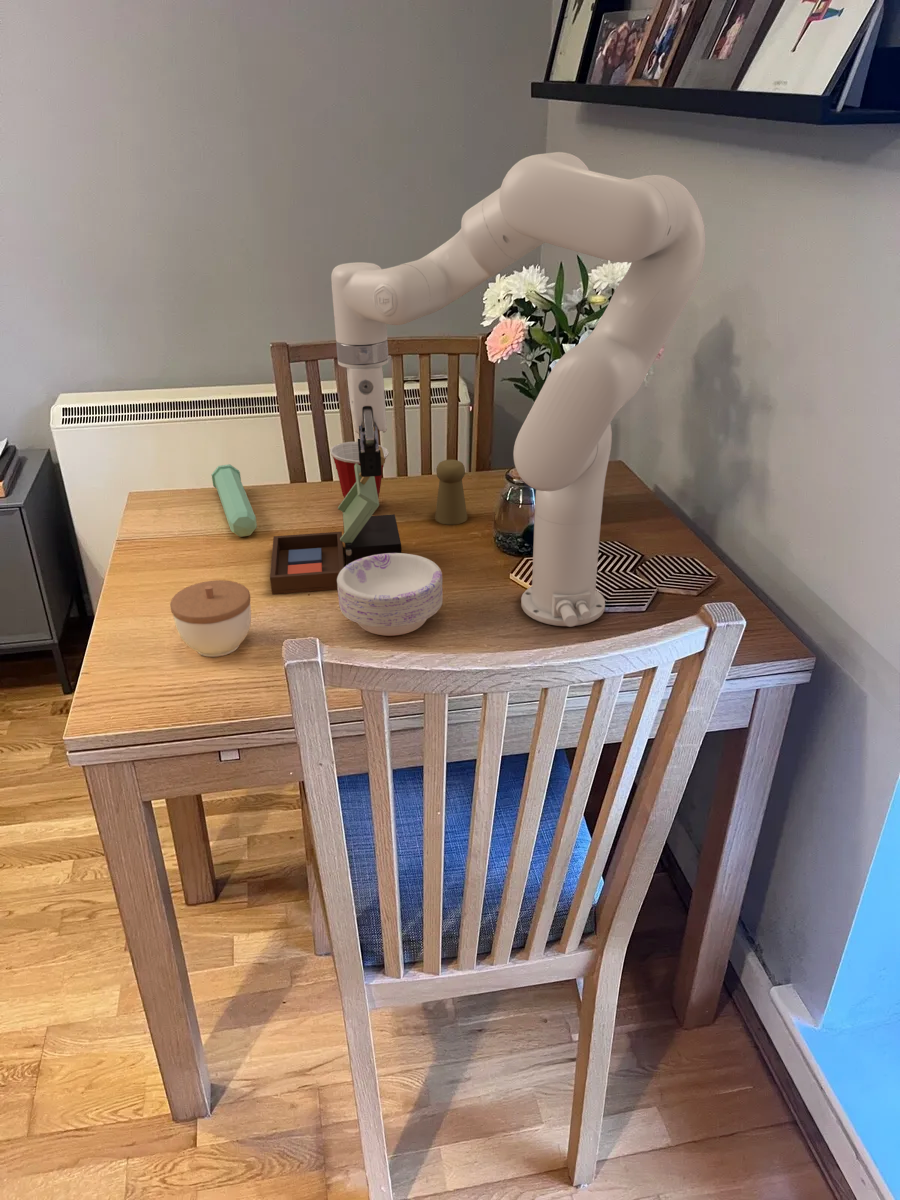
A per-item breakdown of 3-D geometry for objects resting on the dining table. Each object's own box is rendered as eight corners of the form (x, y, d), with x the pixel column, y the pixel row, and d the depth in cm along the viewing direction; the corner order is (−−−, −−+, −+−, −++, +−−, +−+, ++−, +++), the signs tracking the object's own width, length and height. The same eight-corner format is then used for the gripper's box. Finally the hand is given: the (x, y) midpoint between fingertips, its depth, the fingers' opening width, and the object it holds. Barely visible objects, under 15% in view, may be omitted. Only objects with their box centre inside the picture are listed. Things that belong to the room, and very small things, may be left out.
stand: (404, 586, 138) (402, 543, 135) (348, 590, 137) (345, 547, 134) (395, 541, 153) (393, 501, 150) (345, 544, 152) (341, 504, 149)
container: (251, 506, 152) (231, 458, 173) (221, 522, 152) (205, 473, 172) (267, 532, 156) (246, 482, 176) (238, 548, 155) (220, 496, 176)
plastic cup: (389, 520, 161) (386, 458, 156) (331, 520, 162) (325, 459, 156) (393, 498, 171) (390, 439, 165) (338, 498, 171) (333, 439, 165)
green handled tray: (400, 476, 132) (380, 463, 130) (348, 547, 136) (328, 535, 135) (393, 447, 143) (374, 435, 142) (345, 514, 148) (327, 503, 146)
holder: (346, 588, 138) (344, 571, 137) (272, 594, 137) (269, 577, 135) (342, 547, 152) (341, 531, 150) (275, 551, 150) (273, 536, 149)
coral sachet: (287, 577, 139) (287, 582, 139) (322, 575, 139) (322, 579, 140) (287, 565, 143) (288, 569, 143) (321, 562, 143) (322, 566, 144)
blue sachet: (288, 561, 144) (288, 566, 144) (321, 559, 144) (322, 563, 145) (288, 549, 148) (289, 554, 148) (321, 547, 148) (321, 551, 149)
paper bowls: (379, 587, 138) (376, 542, 134) (461, 610, 131) (461, 563, 128) (319, 630, 127) (314, 582, 123) (406, 658, 120) (404, 608, 116)
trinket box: (259, 623, 129) (251, 567, 124) (253, 663, 120) (244, 603, 115) (185, 629, 128) (174, 572, 123) (173, 669, 118) (161, 609, 114)
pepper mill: (468, 512, 164) (468, 456, 159) (466, 525, 159) (465, 468, 154) (436, 511, 165) (435, 455, 160) (433, 524, 160) (431, 467, 154)
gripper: (392, 365, 122) (398, 487, 130) (384, 339, 136) (390, 449, 145) (338, 368, 121) (348, 490, 129) (336, 341, 136) (345, 452, 144)
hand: (370, 467), depth 137 cm, fingers closed on green handled tray, 5 cm apart
